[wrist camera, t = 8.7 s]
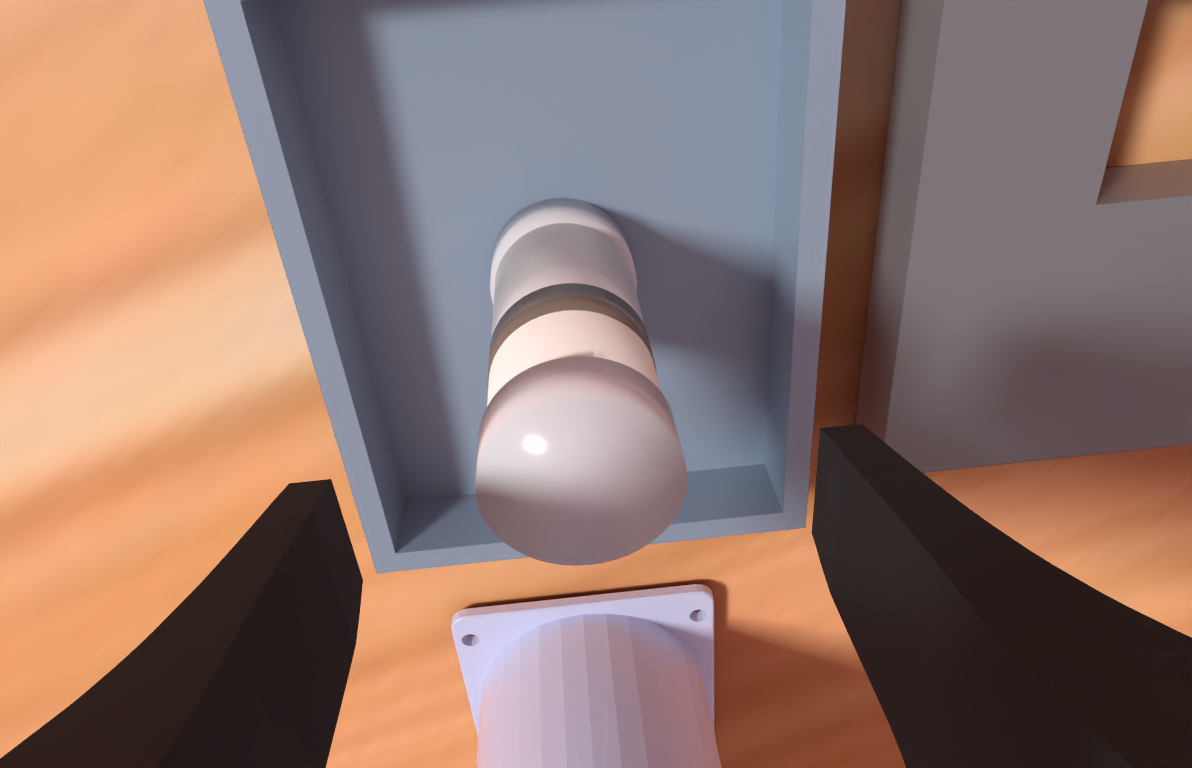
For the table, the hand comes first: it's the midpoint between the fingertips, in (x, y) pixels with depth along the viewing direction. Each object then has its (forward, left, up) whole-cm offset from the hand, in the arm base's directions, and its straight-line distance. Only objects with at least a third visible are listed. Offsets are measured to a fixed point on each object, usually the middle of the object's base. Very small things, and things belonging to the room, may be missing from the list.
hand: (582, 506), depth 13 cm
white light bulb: (0, 0, -8) cm, 8 cm away
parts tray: (0, 0, -9) cm, 9 cm away
